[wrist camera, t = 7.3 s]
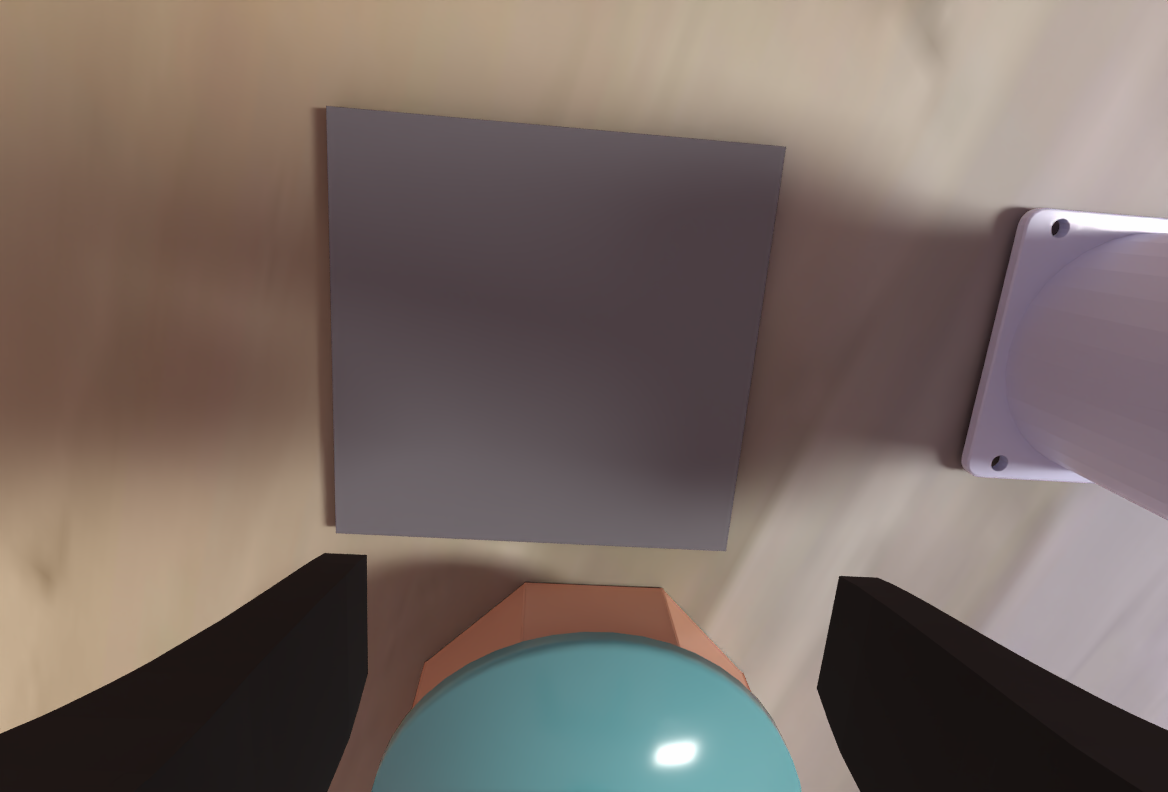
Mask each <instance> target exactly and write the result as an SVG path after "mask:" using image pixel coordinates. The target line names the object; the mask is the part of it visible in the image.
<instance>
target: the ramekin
mask: <svg viewBox="0 0 1168 792" xmlns="http://www.w3.org/2000/svg"><path fill="white" fill-rule="evenodd" d="M576 632H615V633H622V634H630V635H638V636H644V637H648V638H652V639H656V640H659V641H663V642H667V643H671V644H673V645H676V646H679V647H681V648H684V649H686V650H689V651H691V652H694V653H696V654H698V655H700V656H702V657H704V658H705V659H707V660H709V661H711V662H713V663H715V664H716V665H718V666H720V667H721V668H723V669H724V670H725V671H727V672H728V673H729V674H731V675H732V676H734V677H735V678H736V679H738V680H739V681H740V682H741V683H742V684H743V685H744V686H745V687H746V688H747V689H748V690H749V691H750V692H751V690H750V688H749V686H748V683H747V681H746V678H745V676H744V674H743V673H742V672H741V671H740V670H739V669H738V668H737V667H736V666H735V665H734V664H733V663H732V662H731V661H730V660H729V659H728V658H727V657H726V655H725V654H724V653H723V652H722V651H721V650H720V649H719V648H718V647H717V646H716V645H715V644H714V643H713V642H712V641H711V640H710V639H709V638H708V636H707V635H706V634H705V633H704V632H703V631H702V630H701V629H700V628H699V627H698V626H697V625H696V624H695V623H694V622H693V621H692V620H691V619H690V618H689V616H688V615H687V614H686V613H685V612H684V611H683V610H682V609H681V608H680V607H679V606H678V605H677V604H676V603H675V602H674V601H673V600H672V599H671V598H670V596H669V595H668V594H667V593H666V592H665V591H664V590H663V588H642V587H619V586H595V585H571V584H548V583H527V582H526V583H524V584H523V585H522V586H521V587H519V588H518V589H517V590H516V591H514V592H513V593H512V594H511V595H509V596H508V597H507V598H506V599H504V600H503V601H502V602H501V603H499V604H498V605H497V606H496V607H494V608H493V609H492V610H491V611H489V612H488V613H487V614H486V615H484V616H483V617H482V618H481V619H479V620H478V621H477V622H476V623H474V624H473V625H472V626H471V627H469V628H468V629H467V630H466V631H464V632H463V633H462V634H461V635H459V636H458V637H457V638H456V639H454V640H453V641H452V642H451V643H449V644H448V645H447V646H446V647H444V648H443V649H442V650H441V651H439V652H438V653H437V654H436V655H434V656H433V657H432V658H431V659H429V660H428V661H427V662H425V663H424V666H423V670H422V673H421V677H420V681H419V684H418V688H417V692H416V695H415V699H414V703H413V706H412V709H413V707H414V706H415V705H416V704H417V703H418V702H419V701H420V700H421V699H422V698H423V696H425V695H426V694H427V693H428V692H429V691H431V690H432V689H433V688H434V687H435V686H437V685H438V684H439V683H440V682H441V681H443V680H444V679H445V678H446V677H448V676H450V675H451V674H453V673H454V672H456V671H457V670H459V669H461V668H462V667H464V666H465V665H467V664H469V663H470V662H473V661H475V660H477V659H479V658H481V657H483V656H485V655H487V654H489V653H491V652H494V651H496V650H499V649H502V648H505V647H508V646H511V645H513V644H516V643H519V642H522V641H526V640H531V639H536V638H540V637H545V636H550V635H556V634H566V633H576Z"/></svg>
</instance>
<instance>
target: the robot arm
mask: <svg viewBox="0 0 1168 792" xmlns="http://www.w3.org/2000/svg"><path fill="white" fill-rule="evenodd" d="M1057 220H1058V222H1059V230H1058V232H1057V234H1055V235H1054V236H1053V234H1052V233H1051V227H1052V225H1053V223H1054V222H1055V221H1057ZM997 456H1000V460H999V461H998V463H997V464H996V465H994V466H991V462H992V461H993V459H994V458H995V457H997ZM961 463H962V466H963V468H964V469H965V470H966V471H967V472H969V473H970V474H972V475H973V476H977V477H987V478H1005V479H1023V480H1041V481H1059V482H1077V483H1095V484H1098V485H1100V486H1102V487H1104V488H1106V489H1108V490H1109V491H1111V492H1113V493H1115V494H1117V495H1119V496H1121V497H1123V498H1125V499H1127V500H1129V501H1131V502H1133V503H1135V504H1137V505H1139V506H1141V507H1143V508H1145V509H1147V510H1149V511H1151V512H1153V513H1155V514H1156V515H1158V516H1160V517H1162V518H1164V519H1166V520H1168V218H1157V217H1145V216H1134V215H1122V214H1110V213H1098V212H1086V211H1074V210H1063V209H1051V208H1036V209H1032V210H1030V211H1028V212H1026V213H1025V214H1024V215H1023V216H1022V218H1021V219H1020V222H1019V224H1018V227H1017V231H1016V235H1015V239H1014V244H1013V248H1012V252H1011V256H1010V260H1009V264H1008V268H1007V272H1006V277H1005V281H1004V285H1003V289H1002V293H1001V297H1000V301H999V305H998V310H997V314H996V318H995V322H994V326H993V330H992V334H991V338H990V343H989V347H988V351H987V355H986V359H985V363H984V367H983V371H982V376H981V380H980V384H979V388H978V392H977V396H976V400H975V405H974V409H973V413H972V417H971V421H970V425H969V429H968V433H967V438H966V442H965V446H964V450H963V454H962V462H961ZM367 674H368V647H367V555H354V554H331V553H324V554H322V555H321V556H319V557H317V558H315V559H314V560H312V561H310V562H309V563H307V564H306V565H304V566H303V567H301V568H300V569H298V570H297V571H295V572H294V573H292V574H291V575H289V576H288V577H286V578H285V579H283V580H282V581H280V582H279V583H277V584H276V585H274V586H273V587H271V588H270V589H268V590H266V591H265V592H263V593H262V594H260V595H259V596H257V597H256V598H254V599H253V600H251V601H250V602H248V603H246V604H245V605H243V606H242V607H240V608H239V609H237V610H236V611H234V612H233V613H231V614H230V615H228V616H227V617H225V618H223V619H222V620H220V621H219V622H217V623H215V624H213V625H212V626H210V627H208V628H207V629H205V630H203V631H202V632H200V633H198V634H197V635H195V636H193V637H191V638H190V639H188V640H186V641H185V642H183V643H181V644H180V645H178V646H176V647H175V648H173V649H171V650H170V651H168V652H166V653H164V654H163V655H161V656H159V657H158V658H156V659H154V660H153V661H151V662H149V663H147V664H145V665H143V666H142V667H140V668H138V669H136V670H134V671H132V672H130V673H129V674H127V675H125V676H123V677H121V678H119V679H117V680H115V681H113V682H111V683H109V684H107V685H105V686H103V687H101V688H99V689H97V690H95V691H93V692H91V693H89V694H87V695H85V696H83V697H81V698H79V699H77V700H75V701H73V702H71V703H69V704H67V705H65V706H63V707H60V708H58V709H56V710H54V711H52V712H50V713H48V714H45V715H43V716H41V717H39V718H36V719H34V720H32V721H29V722H27V723H25V724H22V725H20V726H17V727H15V728H13V729H10V730H8V731H6V732H3V733H1V734H0V792H327V791H328V789H329V786H330V784H331V781H332V779H333V777H334V774H335V772H336V769H337V767H338V765H339V762H340V760H341V757H342V755H343V753H344V750H345V748H346V745H347V743H348V740H349V738H350V734H351V731H352V728H353V724H354V721H355V717H356V714H357V711H358V707H359V704H360V700H361V696H362V693H363V689H364V685H365V682H366V678H367ZM817 690H818V693H819V696H820V699H821V702H822V704H823V707H824V710H825V713H826V716H827V719H828V722H829V724H830V727H831V730H832V732H833V735H834V737H835V740H836V743H837V745H838V748H839V750H840V753H841V755H842V757H843V759H844V761H845V763H846V765H847V767H848V769H849V770H850V772H851V774H852V776H853V778H854V780H855V782H856V784H857V786H858V788H859V790H860V792H1168V730H1165V729H1163V728H1161V727H1159V726H1157V725H1155V724H1152V723H1150V722H1148V721H1146V720H1144V719H1141V718H1139V717H1137V716H1135V715H1133V714H1131V713H1129V712H1127V711H1125V710H1122V709H1120V708H1118V707H1116V706H1114V705H1112V704H1110V703H1108V702H1106V701H1104V700H1102V699H1100V698H1098V697H1096V696H1094V695H1092V694H1091V693H1089V692H1087V691H1085V690H1083V689H1081V688H1079V687H1077V686H1075V685H1073V684H1071V683H1070V682H1068V681H1066V680H1064V679H1062V678H1060V677H1058V676H1056V675H1054V674H1052V673H1050V672H1049V671H1047V670H1045V669H1043V668H1041V667H1039V666H1038V665H1036V664H1034V663H1032V662H1030V661H1029V660H1027V659H1025V658H1023V657H1021V656H1019V655H1018V654H1016V653H1014V652H1012V651H1011V650H1009V649H1007V648H1005V647H1003V646H1002V645H1000V644H998V643H996V642H995V641H993V640H991V639H989V638H988V637H986V636H984V635H982V634H981V633H979V632H977V631H976V630H974V629H972V628H970V627H969V626H967V625H965V624H963V623H962V622H960V621H958V620H956V619H955V618H953V617H951V616H949V615H948V614H946V613H944V612H943V611H941V610H939V609H937V608H936V607H934V606H932V605H930V604H929V603H927V602H925V601H923V600H921V599H920V598H918V597H916V596H914V595H912V594H910V593H909V592H907V591H905V590H903V589H901V588H899V587H897V586H895V585H893V584H891V583H889V582H886V581H884V580H882V579H879V578H872V577H850V576H839V580H838V585H837V590H836V595H835V600H834V605H833V610H832V615H831V620H830V625H829V630H828V635H827V640H826V645H825V650H824V655H823V660H822V665H821V670H820V675H819V680H818V685H817Z"/></svg>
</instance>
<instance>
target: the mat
mask: <svg viewBox="0 0 1168 792" xmlns="http://www.w3.org/2000/svg"><path fill="white" fill-rule="evenodd" d="M326 116H327V160H328V204H329V248H330V293H331V337H332V381H333V425H334V469H335V514H336V533H345V534H366V535H388V536H409V537H431V538H452V539H474V540H495V541H517V542H538V543H560V544H582V545H603V546H625V547H646V548H668V549H689V550H711V551H726V547H727V540H728V533H729V527H730V520H731V513H732V507H733V500H734V493H735V486H736V480H737V473H738V466H739V459H740V453H741V446H742V439H743V433H744V426H745V419H746V412H747V406H748V399H749V392H750V386H751V379H752V372H753V365H754V359H755V352H756V345H757V338H758V332H759V325H760V318H761V312H762V305H763V298H764V291H765V285H766V278H767V271H768V264H769V258H770V251H771V244H772V238H773V231H774V224H775V217H776V211H777V204H778V197H779V190H780V184H781V177H782V170H783V164H784V157H785V150H786V147H783V146H772V145H760V144H749V143H738V142H727V141H715V140H704V139H693V138H682V137H670V136H659V135H648V134H637V133H625V132H614V131H603V130H592V129H580V128H569V127H558V126H546V125H535V124H524V123H513V122H501V121H490V120H479V119H468V118H456V117H445V116H434V115H423V114H411V113H400V112H389V111H377V110H366V109H355V108H344V107H332V106H326Z"/></svg>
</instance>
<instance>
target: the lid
mask: <svg viewBox="0 0 1168 792" xmlns="http://www.w3.org/2000/svg"><path fill="white" fill-rule="evenodd" d="M371 792H801V786H800V781H799V778H798V775H797V772H796V769H795V766H794V763H793V760H792V758H791V756H790V753H789V751H788V749H787V747H786V744H785V742H784V740H783V738H782V736H781V734H780V732H779V730H778V728H777V726H776V724H775V722H774V720H773V719H772V717H771V716H770V714H769V713H768V712H767V710H766V709H765V708H764V706H763V705H762V704H761V702H760V701H759V700H758V698H757V697H755V696H754V695H753V694H752V693H751V692H750V691H749V690H748V689H747V688H746V687H745V686H744V685H743V684H742V683H741V682H740V681H739V680H738V679H736V678H735V677H734V676H732V675H731V674H729V673H728V672H727V671H725V670H724V669H723V668H721V667H720V666H718V665H716V664H715V663H713V662H711V661H709V660H707V659H705V658H704V657H702V656H700V655H698V654H696V653H694V652H691V651H689V650H686V649H684V648H681V647H679V646H676V645H673V644H671V643H667V642H663V641H659V640H656V639H652V638H648V637H644V636H638V635H630V634H622V633H615V632H576V633H566V634H556V635H550V636H545V637H540V638H536V639H531V640H526V641H522V642H519V643H516V644H513V645H511V646H508V647H505V648H502V649H499V650H496V651H494V652H491V653H489V654H487V655H485V656H483V657H481V658H479V659H477V660H475V661H473V662H470V663H469V664H467V665H465V666H464V667H462V668H461V669H459V670H457V671H456V672H454V673H453V674H451V675H450V676H448V677H446V678H445V679H444V680H443V681H441V682H440V683H439V684H438V685H437V686H435V687H434V688H433V689H432V690H431V691H429V692H428V693H427V694H426V695H425V696H423V698H422V699H421V700H420V701H419V702H418V703H417V704H416V705H415V706H414V707H413V709H412V710H411V711H410V712H409V713H408V714H407V715H406V716H405V718H404V719H403V721H402V722H401V724H400V725H399V727H398V728H397V730H396V731H395V733H394V734H393V735H392V737H391V739H390V741H389V743H388V745H387V748H386V750H385V752H384V754H383V756H382V758H381V761H380V764H379V768H378V771H377V774H376V778H375V781H374V784H373V788H372V791H371Z"/></svg>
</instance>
